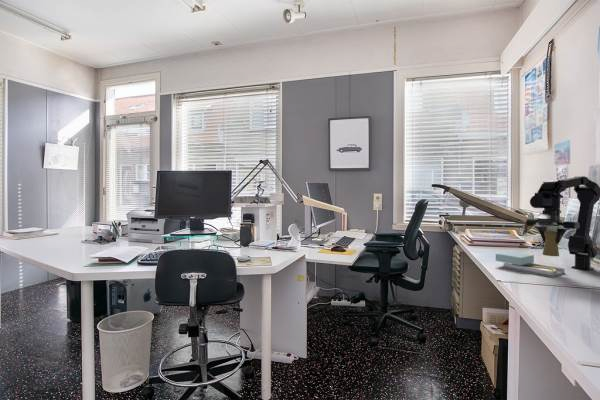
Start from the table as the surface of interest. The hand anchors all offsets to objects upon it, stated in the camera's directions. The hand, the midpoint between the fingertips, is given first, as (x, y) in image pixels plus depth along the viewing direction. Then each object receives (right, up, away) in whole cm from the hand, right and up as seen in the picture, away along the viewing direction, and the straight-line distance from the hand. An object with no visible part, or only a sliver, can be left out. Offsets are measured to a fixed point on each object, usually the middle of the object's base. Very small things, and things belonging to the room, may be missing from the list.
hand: (550, 242), depth 148 cm
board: (-5, -14, +4) cm, 15 cm away
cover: (-9, -11, +11) cm, 18 cm away
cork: (0, -6, 0) cm, 6 cm away
